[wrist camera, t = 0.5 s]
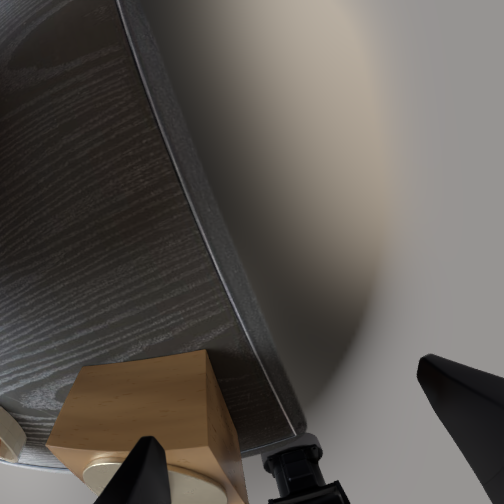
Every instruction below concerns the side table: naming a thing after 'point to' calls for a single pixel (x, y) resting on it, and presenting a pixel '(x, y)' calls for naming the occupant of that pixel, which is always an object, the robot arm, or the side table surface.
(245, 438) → the side table surface
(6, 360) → the side table surface
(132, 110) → the side table surface
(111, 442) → the stand
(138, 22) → the side table surface
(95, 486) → the lid
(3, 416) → the pot
